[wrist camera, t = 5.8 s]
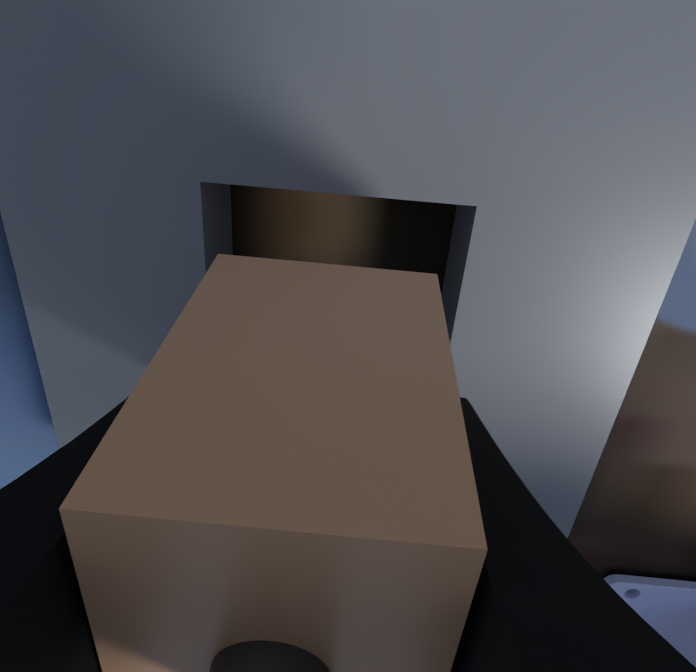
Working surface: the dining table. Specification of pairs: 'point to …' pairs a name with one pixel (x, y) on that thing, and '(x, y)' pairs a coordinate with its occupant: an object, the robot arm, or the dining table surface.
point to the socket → (360, 182)
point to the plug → (285, 483)
